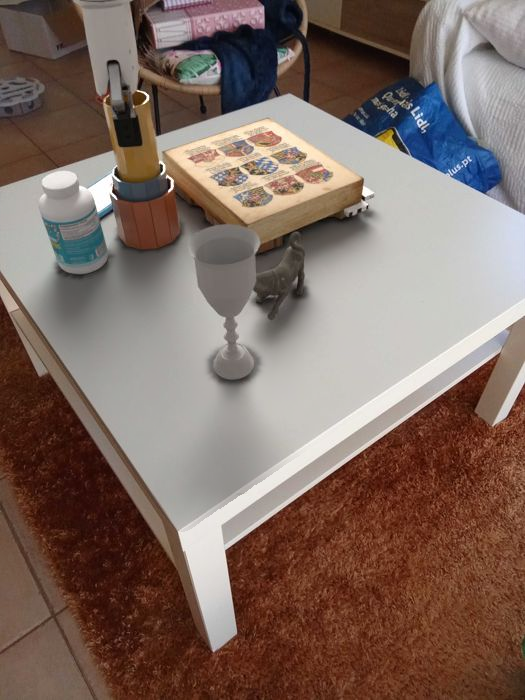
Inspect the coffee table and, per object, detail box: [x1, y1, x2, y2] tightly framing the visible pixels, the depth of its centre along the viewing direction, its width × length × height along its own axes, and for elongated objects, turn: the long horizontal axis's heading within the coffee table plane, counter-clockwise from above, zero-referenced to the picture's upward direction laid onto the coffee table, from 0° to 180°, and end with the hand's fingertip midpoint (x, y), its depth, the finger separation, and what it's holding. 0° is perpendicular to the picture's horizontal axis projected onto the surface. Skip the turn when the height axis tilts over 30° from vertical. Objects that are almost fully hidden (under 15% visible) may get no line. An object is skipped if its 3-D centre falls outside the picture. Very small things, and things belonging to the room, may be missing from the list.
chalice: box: [187, 224, 260, 381], centre depth 63 cm, size 7×7×18 cm
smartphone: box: [85, 170, 113, 220], centre depth 96 cm, size 8×1×15 cm
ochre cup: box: [102, 89, 162, 183], centre depth 79 cm, size 6×6×12 cm
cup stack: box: [109, 160, 181, 251], centre depth 86 cm, size 9×9×11 cm
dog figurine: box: [253, 231, 306, 322], centre depth 75 cm, size 12×6×7 cm, turn 150°
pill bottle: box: [38, 170, 109, 275], centre depth 79 cm, size 8×7×14 cm
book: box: [161, 117, 375, 255], centre depth 93 cm, size 25×6×28 cm
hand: (132, 132), depth 78 cm, fingers closed on ochre cup, 6 cm apart
